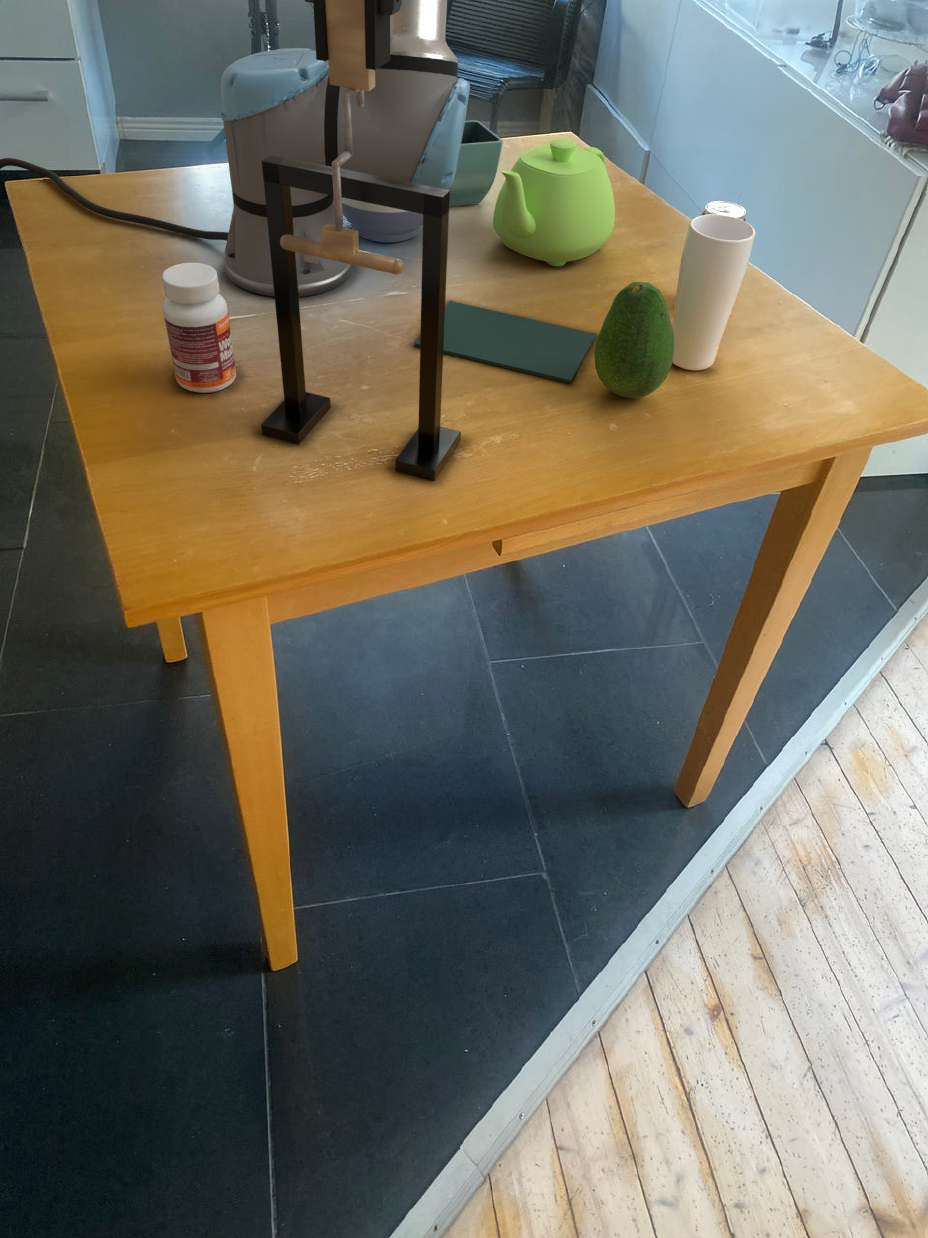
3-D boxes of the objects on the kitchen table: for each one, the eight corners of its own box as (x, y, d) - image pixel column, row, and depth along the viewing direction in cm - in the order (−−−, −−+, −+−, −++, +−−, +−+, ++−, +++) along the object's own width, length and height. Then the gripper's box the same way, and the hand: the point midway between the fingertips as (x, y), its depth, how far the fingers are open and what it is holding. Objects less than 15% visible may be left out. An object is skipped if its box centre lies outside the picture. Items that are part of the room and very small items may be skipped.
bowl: (448, 252, 122) (451, 192, 117) (335, 255, 120) (332, 193, 115) (432, 206, 132) (434, 149, 127) (327, 208, 130) (325, 149, 125)
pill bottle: (238, 392, 97) (224, 287, 89) (176, 397, 96) (156, 290, 88) (234, 361, 101) (221, 258, 93) (175, 365, 100) (156, 261, 92)
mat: (414, 346, 105) (415, 343, 105) (450, 303, 113) (450, 300, 112) (570, 383, 102) (570, 380, 101) (596, 336, 109) (596, 333, 109)
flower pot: (473, 184, 139) (477, 118, 132) (499, 208, 133) (504, 140, 127) (417, 190, 136) (419, 123, 130) (441, 215, 130) (444, 146, 124)
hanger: (278, 250, 78) (246, -40, 63) (309, 222, 81) (286, -59, 66) (400, 278, 75) (396, -17, 61) (426, 247, 79) (429, -38, 64)
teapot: (541, 296, 115) (554, 185, 106) (447, 256, 122) (452, 149, 112) (638, 242, 128) (657, 138, 118) (548, 208, 134) (560, 108, 125)
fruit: (651, 422, 97) (676, 313, 89) (578, 402, 99) (595, 293, 90) (671, 385, 102) (696, 279, 94) (602, 367, 104) (620, 261, 96)
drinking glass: (683, 381, 103) (717, 245, 92) (647, 351, 107) (675, 218, 97) (732, 368, 106) (770, 235, 95) (695, 340, 110) (728, 209, 99)
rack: (261, 434, 92) (230, 169, 74) (295, 398, 97) (273, 140, 79) (434, 481, 88) (444, 213, 71) (460, 441, 93) (476, 180, 75)
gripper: (174, -429, 52) (228, 55, 68) (453, -413, 48) (438, 92, 65) (244, -419, 57) (278, 30, 73) (501, -403, 53) (475, 64, 70)
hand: (353, 58), depth 69 cm, fingers closed on hanger, 3 cm apart
